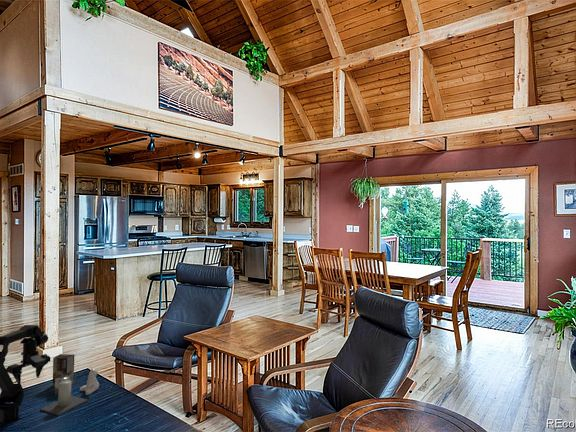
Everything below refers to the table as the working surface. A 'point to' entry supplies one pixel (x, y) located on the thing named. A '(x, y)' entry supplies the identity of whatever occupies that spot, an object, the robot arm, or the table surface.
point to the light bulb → (64, 393)
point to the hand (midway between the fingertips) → (28, 380)
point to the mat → (58, 410)
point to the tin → (58, 380)
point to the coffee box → (63, 366)
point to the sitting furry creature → (91, 383)
